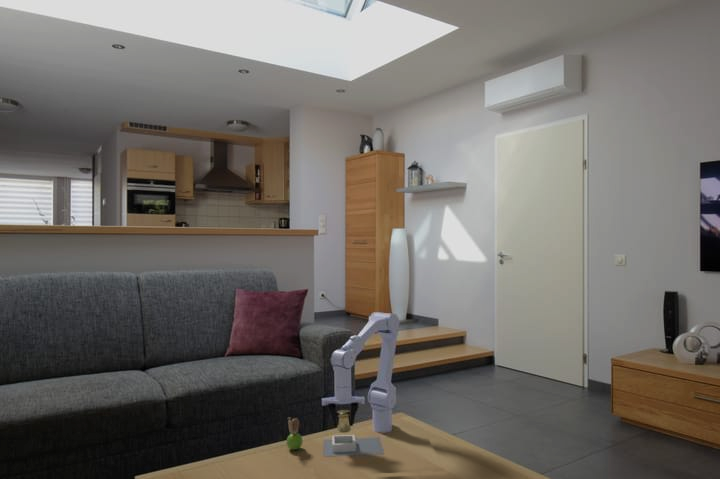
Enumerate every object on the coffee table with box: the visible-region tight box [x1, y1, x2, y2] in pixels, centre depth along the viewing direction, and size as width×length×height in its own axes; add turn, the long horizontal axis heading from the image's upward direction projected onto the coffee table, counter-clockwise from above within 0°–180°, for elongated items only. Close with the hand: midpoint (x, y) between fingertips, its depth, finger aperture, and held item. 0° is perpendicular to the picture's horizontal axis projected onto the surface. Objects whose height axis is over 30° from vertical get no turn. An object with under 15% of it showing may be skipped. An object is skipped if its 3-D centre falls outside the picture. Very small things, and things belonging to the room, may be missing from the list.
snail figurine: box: [286, 417, 304, 451], centre depth 170 cm, size 5×6×12 cm
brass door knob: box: [336, 409, 352, 434], centre depth 169 cm, size 5×5×6 cm
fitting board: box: [322, 434, 385, 458], centre depth 169 cm, size 14×20×4 cm
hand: (343, 425), depth 169 cm, fingers closed on brass door knob, 5 cm apart
